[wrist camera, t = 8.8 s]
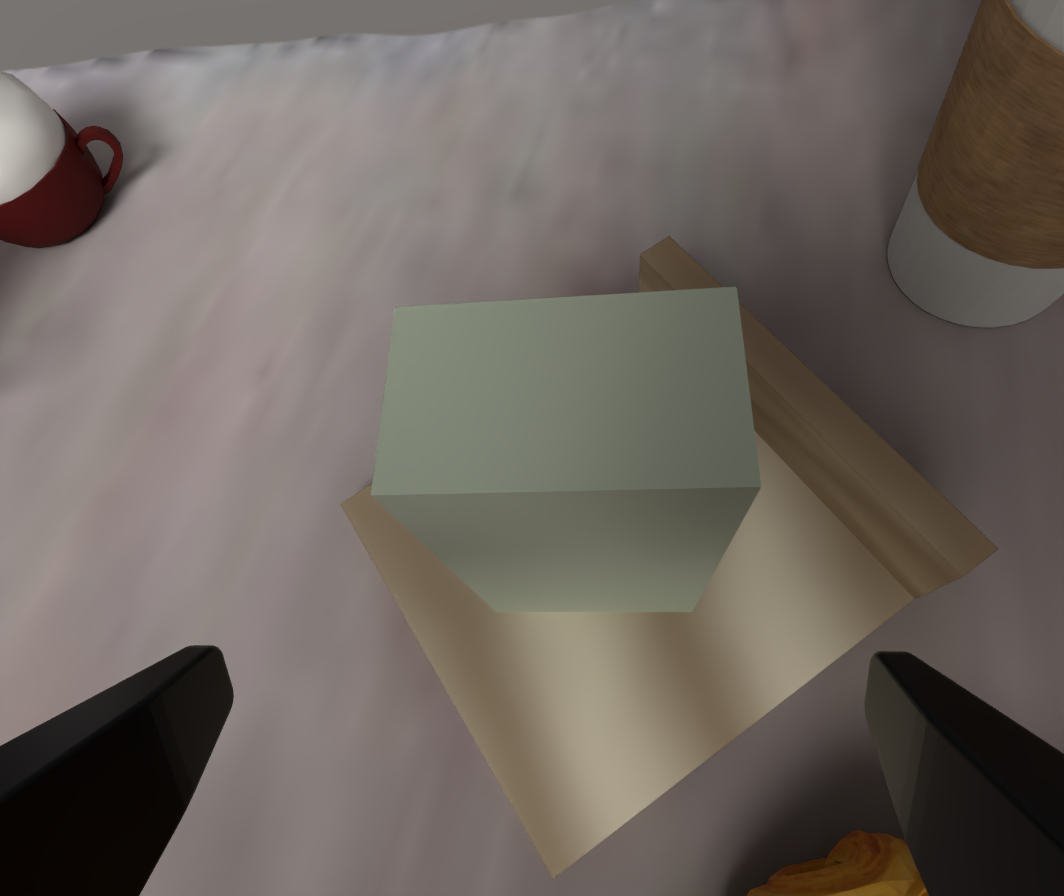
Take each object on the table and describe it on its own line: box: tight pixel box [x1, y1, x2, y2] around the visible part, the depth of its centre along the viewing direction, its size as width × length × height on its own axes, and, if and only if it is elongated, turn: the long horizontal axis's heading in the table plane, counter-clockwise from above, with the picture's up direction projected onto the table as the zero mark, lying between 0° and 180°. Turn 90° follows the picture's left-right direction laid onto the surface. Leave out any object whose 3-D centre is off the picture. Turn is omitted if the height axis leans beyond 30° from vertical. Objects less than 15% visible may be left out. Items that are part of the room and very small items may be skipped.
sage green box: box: [371, 287, 761, 612], centre depth 16 cm, size 4×6×11 cm, turn 89°
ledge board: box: [341, 236, 998, 879], centre depth 20 cm, size 14×13×4 cm
